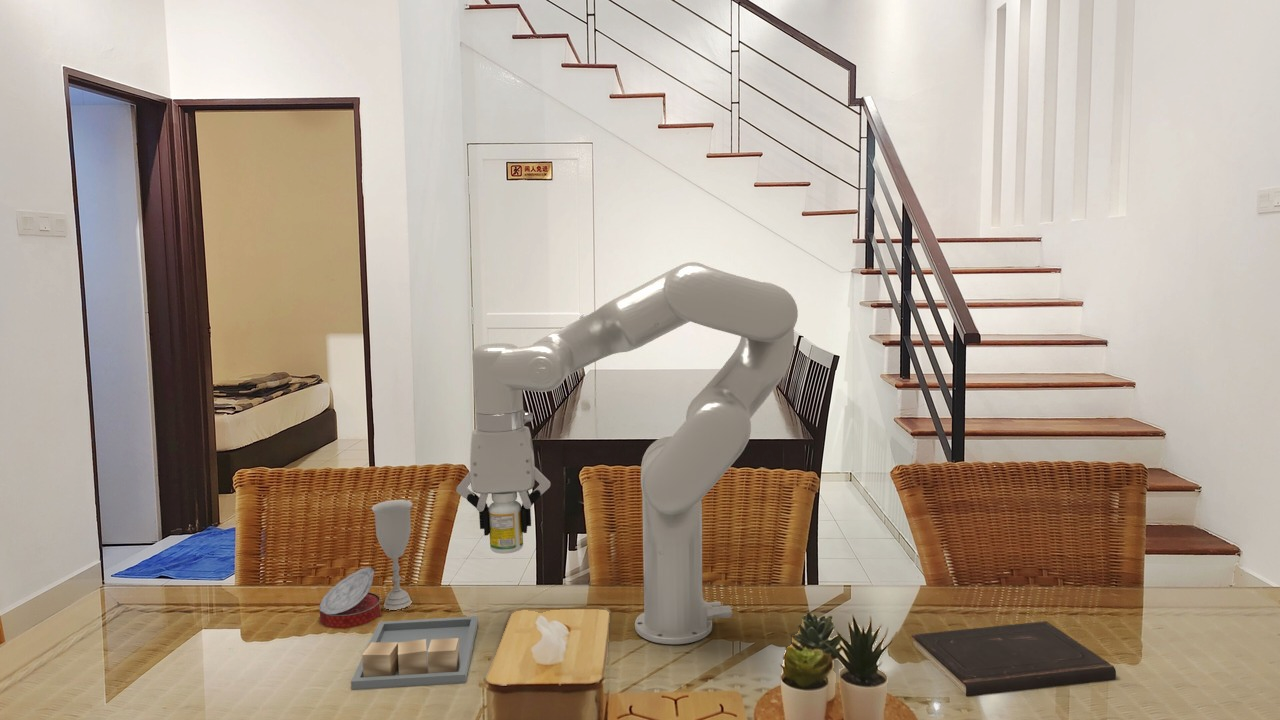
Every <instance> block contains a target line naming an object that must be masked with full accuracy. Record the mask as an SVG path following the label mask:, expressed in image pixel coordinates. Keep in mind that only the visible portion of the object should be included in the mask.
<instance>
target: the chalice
mask: <svg viewBox="0 0 1280 720" xmlns="http://www.w3.org/2000/svg"><path fill="white" fill-rule="evenodd" d="M412 507H413V502H412V501H411V500H406V499H395V500H394V499H393V500H392V499H391V500H386V501H382V502H378V503H375V504H374V505H373V506H371V510H372V512H373V513H374V518H375V519H374V520H375V521H374V523H375V536H376V538H377V541H378V543H379V546H380V547H381V549H382V551H383V552H384V554H385V555H386V557H387V558H389V559H392V566H391V568H390V569H391V570H392V573H393V575H392V577H391V581H393V588H392V590H390V591H389V592H388V593H387V595H386V598H385V600H384V604H383V605H384V607H385V608H386V609H389V610H388V611H390V610H397V609H401V608H405V607H406V606H408V605H410V604H411V603H412V602H413V601H412V600H411V597H410V595H409V593H408V592H407V590H405V589H402V587H401V586H400V581H401V579H402V576H400V573H399V572H400V569H401V566H400V564H399V558H400V557H402V556H403V555H404V553H405V550H406V548H407V546H408V544H409V541H410V537H411V533H412V524H411V523H412V522H411V521H412V520H411V510H412ZM386 609H385V610H386ZM397 611H398V610H397Z"/></svg>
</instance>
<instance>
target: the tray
mask: <svg viewBox="0 0 1280 720" xmlns="http://www.w3.org/2000/svg"><path fill="white" fill-rule="evenodd" d="M478 625H479V616H478V615H477V616H476V615H475V616H460V617H459V616H457V617H456V616H455V617H440V618H439V617H438V618H426V619H425V618H423V619H405V620H404V619H402V620H387V621H378V623H377V625H376V628H375V629H374V632H373V633H372V636H371V638H370V640H369V643H368V645H367V647H366V648H365V650H366V649H367V648H368V647H369V645H370V644H371V643H372V642H398V643H399V642H407V641H415V640H423V639H426V650H427V652H428V648H429V645H430V642H431V640H434V639H451V638H459V659H460V664H459V669H458V672H445V673H428V674H412V675H399V670H398V671H397V673H396V674H395V676H380V677H364V676H363V661H362V658H361V659H360V662H359V664H358V665H357V668H356V670H355V672H354V674H353V677H352V678H351V681H350V689H351V691H353V690H354V691H355V690H369V689H371V690H373V689H388V688H401V687H402V688H403V687H419V686H435V685H437V686H438V685H449V684H450V685H452V684H453V685H454V684H465V683H466V682H467V678H468V674H469V671H470V670H469V668H470V664H471V660H472V654H473V650H474V645H475V641H476V640H475V639H476V635H477V630H478V627H479V626H478ZM427 669H428V654H427Z"/></svg>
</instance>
